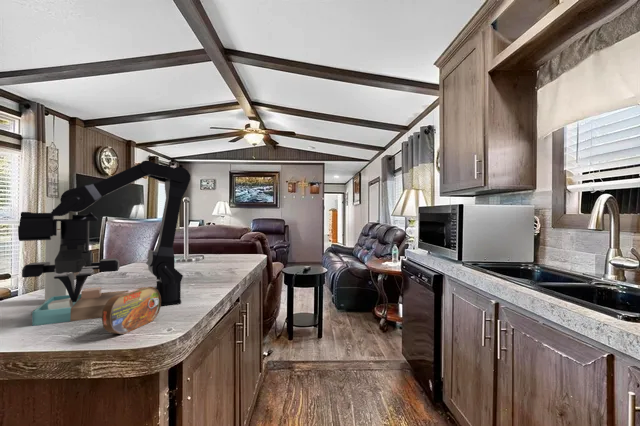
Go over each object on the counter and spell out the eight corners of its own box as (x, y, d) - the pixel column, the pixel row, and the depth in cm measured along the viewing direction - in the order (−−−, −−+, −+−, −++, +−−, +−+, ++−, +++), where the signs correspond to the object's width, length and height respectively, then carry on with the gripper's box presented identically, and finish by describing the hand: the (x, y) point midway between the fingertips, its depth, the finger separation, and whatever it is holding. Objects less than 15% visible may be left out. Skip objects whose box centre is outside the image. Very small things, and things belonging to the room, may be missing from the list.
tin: (111, 340, 65) (111, 298, 65) (98, 339, 65) (98, 297, 65) (162, 317, 79) (162, 283, 80) (151, 316, 80) (151, 283, 80)
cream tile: (73, 305, 81) (72, 297, 81) (69, 309, 78) (68, 301, 78) (53, 309, 79) (52, 301, 79) (48, 313, 76) (47, 304, 76)
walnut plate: (128, 300, 96) (128, 290, 96) (124, 314, 81) (124, 302, 81) (83, 305, 90) (83, 294, 90) (70, 321, 76) (70, 308, 76)
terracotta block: (101, 294, 91) (101, 287, 91) (99, 297, 87) (99, 289, 87) (84, 295, 89) (84, 288, 89) (81, 299, 85) (81, 291, 85)
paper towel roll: (49, 299, 97) (50, 228, 97) (73, 297, 99) (74, 228, 99) (39, 305, 90) (40, 229, 90) (65, 303, 92) (66, 229, 93)
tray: (83, 305, 90) (83, 293, 90) (70, 321, 76) (70, 307, 76) (51, 308, 87) (51, 296, 87) (32, 325, 73) (32, 311, 73)
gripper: (13, 243, 69) (12, 316, 68) (115, 239, 77) (115, 304, 77) (30, 239, 78) (29, 303, 78) (119, 237, 87) (119, 294, 87)
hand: (74, 301), depth 80 cm, fingers closed
